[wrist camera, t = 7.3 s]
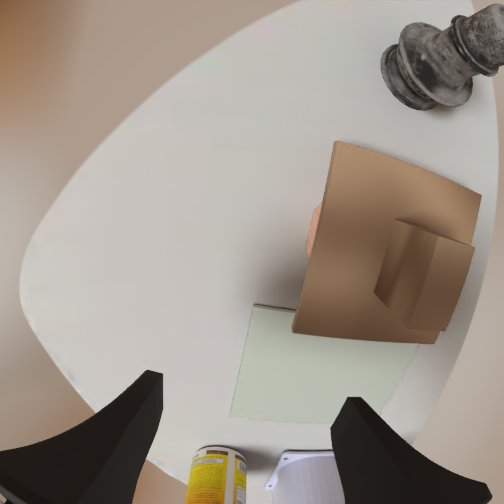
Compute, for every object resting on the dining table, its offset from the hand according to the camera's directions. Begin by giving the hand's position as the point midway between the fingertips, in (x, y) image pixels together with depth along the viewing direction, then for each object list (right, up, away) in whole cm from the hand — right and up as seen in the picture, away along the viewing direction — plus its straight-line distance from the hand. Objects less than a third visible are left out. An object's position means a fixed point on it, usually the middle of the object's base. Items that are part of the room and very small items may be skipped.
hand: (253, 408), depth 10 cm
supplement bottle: (-3, -16, +14) cm, 21 cm away
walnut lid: (+8, +6, +5) cm, 11 cm away
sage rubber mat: (+6, -4, +11) cm, 13 cm away
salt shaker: (+11, +18, +5) cm, 22 cm away
